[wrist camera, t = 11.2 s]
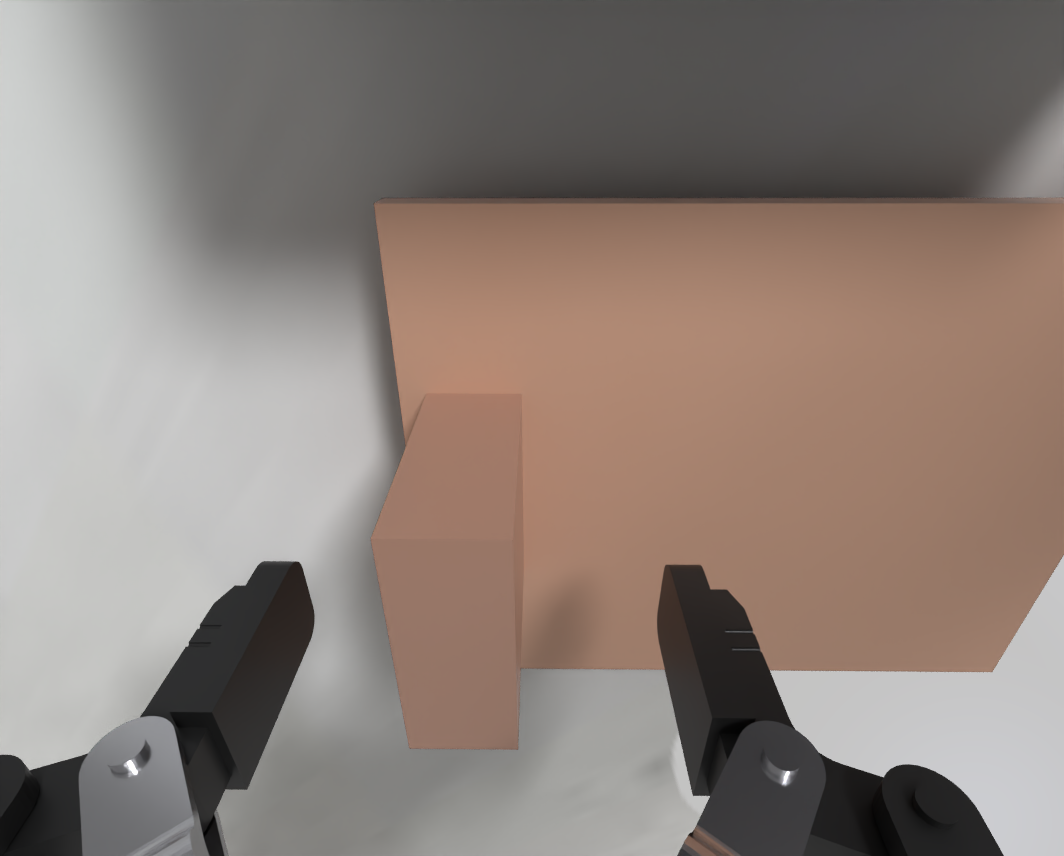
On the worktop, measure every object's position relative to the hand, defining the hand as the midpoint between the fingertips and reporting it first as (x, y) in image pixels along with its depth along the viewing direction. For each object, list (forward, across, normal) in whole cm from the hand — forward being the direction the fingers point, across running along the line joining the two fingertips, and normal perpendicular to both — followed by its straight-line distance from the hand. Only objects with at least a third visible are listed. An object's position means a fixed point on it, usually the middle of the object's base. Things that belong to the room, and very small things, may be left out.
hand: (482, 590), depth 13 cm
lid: (+6, -7, 0) cm, 9 cm away
